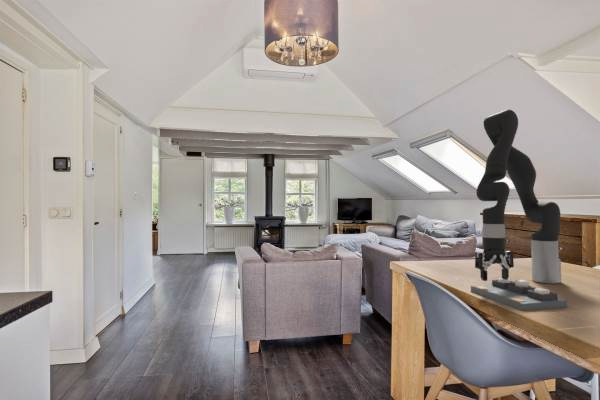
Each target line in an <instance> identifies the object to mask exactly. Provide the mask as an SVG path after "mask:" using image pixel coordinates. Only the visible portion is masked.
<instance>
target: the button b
mask: <svg viewBox="0 0 600 400" xmlns="http://www.w3.org/2000/svg"><path fill="white" fill-rule="evenodd" d="M514 282H515V286H516V287H519V288H529V286H530V283H529V281H528V280H526V279H515V281H514Z"/></svg>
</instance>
